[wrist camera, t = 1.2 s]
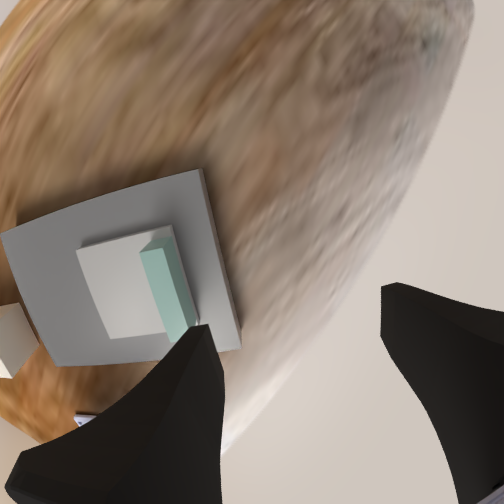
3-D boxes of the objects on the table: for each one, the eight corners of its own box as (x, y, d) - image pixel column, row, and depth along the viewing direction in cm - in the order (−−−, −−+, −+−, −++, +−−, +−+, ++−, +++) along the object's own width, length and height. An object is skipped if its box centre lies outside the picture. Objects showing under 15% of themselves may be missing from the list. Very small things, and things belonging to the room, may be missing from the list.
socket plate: (241, 331, 20) (241, 348, 18) (66, 352, 20) (56, 366, 18) (202, 167, 17) (197, 169, 15) (15, 226, 17) (-1, 233, 15)
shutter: (200, 321, 17) (194, 347, 15) (113, 334, 17) (99, 357, 15) (171, 224, 15) (159, 237, 13) (80, 247, 16) (58, 262, 13)
